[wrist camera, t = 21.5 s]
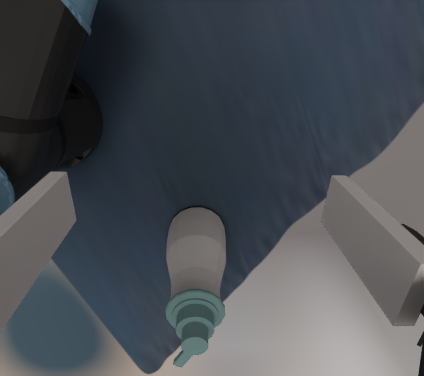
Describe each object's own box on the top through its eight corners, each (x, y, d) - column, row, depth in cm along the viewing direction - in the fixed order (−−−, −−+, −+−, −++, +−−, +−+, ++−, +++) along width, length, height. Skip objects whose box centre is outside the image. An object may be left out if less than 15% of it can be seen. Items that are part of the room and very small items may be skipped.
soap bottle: (159, 236, 53) (134, 357, 33) (186, 195, 50) (177, 301, 29) (206, 258, 56) (209, 382, 35) (234, 220, 52) (256, 334, 32)
